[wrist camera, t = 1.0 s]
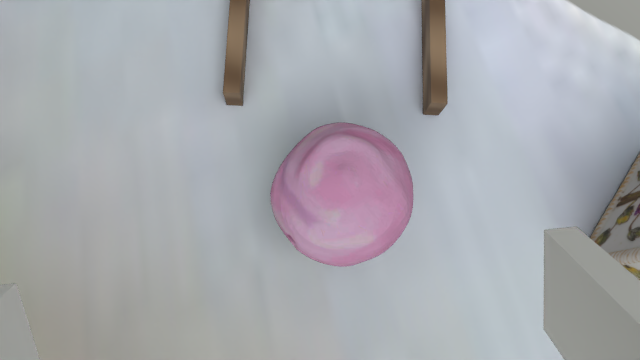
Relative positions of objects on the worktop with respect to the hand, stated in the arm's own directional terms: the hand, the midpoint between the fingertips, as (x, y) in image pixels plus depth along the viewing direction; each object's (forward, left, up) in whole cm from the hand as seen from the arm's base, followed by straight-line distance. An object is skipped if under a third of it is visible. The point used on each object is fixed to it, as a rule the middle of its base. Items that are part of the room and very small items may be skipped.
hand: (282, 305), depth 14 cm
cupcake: (-3, +7, -26) cm, 27 cm away
